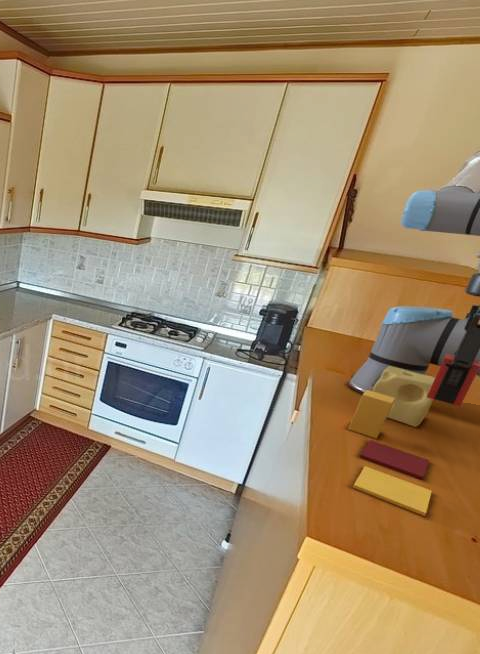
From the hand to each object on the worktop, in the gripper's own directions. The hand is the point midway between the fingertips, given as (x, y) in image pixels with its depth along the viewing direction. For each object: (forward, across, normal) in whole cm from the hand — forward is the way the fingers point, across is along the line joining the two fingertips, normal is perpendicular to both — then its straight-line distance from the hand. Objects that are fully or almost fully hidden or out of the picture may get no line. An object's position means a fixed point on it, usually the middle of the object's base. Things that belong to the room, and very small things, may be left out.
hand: (444, 397), depth 93 cm
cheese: (+12, -19, -6) cm, 23 cm away
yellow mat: (+11, +27, -1) cm, 29 cm away
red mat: (+11, +12, -3) cm, 16 cm away
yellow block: (+11, 0, -9) cm, 14 cm away
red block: (0, 0, 0) cm, 0 cm away
